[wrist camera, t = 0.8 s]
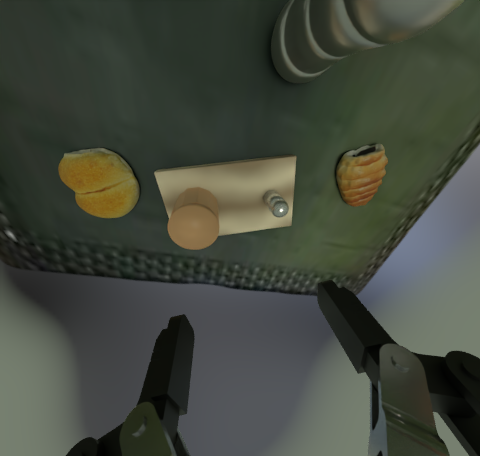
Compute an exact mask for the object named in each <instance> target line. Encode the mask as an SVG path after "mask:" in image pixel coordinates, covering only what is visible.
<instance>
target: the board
mask: <svg viewBox="0 0 480 456" xmlns="http://www.w3.org/2000/svg"><path fill="white" fill-rule="evenodd" d="M295 168H296V156H295V155H284V156H275V157H266V158H257V159H248V160H239V161H230V162H222V163H213V164H204V165H195V166H186V167H177V168H169V169H160V170H156V171H155V172H154V174H155V177H156V180H157V183H158V186H159V189H160V192H161V195H162V198H163V201H164V204H165V208H166V211H167V214H168V217H169V219H170V217H171V214H172V211H173V208H174V206H175V204H176V201H177V199H178V197H179V195H180V194H181V193H183V192H184V191H185V190H186V189H188V188H195V187H200V188H203V189H206V190H208V191H210V192H211V193H212V194H213V196H214V197H215V198H216V199H217V204H218V211H219V226H220V228H219V234H218V236H220V235H228V234H235V233H242V232H249V231H256V230H263V229H270V228H277V227H284V226H291V222H292V208H293V195H294V182H295ZM269 190H275V191H277V192H278V193H279V194H280V195H281V197H282V198H283V199H284V200H285V201H286V202H287V203H288V206H289V211H288V213H287V214H286V215H285V216H283V217H275V216H274V215H273V214H272V213H271V212H270V210H269V208H268V207H267V205H266V204H265V202H264V200H263V196H264V194H265V193H266V192H267V191H269Z"/></svg>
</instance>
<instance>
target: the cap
mask: <svg viewBox="0 0 480 456" xmlns="http://www.w3.org/2000/svg"><path fill="white" fill-rule="evenodd" d="M219 228H220V226H219V211H218V204H217V199H216V198H215V197H214V196H213V194H212V193H211V192H210V191H208V190H206V189H203V188H200V187H195V188H188V189H186V190H185V191H184V192H183V193H181V194H180V195H179V197H178V199H177V201H176V204H175V206H174V208H173V211H172V214H171V217H170V219H169V222H168V233H169V235H170V237H171V239H172V240H173V241H174V242H175V243H176V244H178V245H179V246H181V247H183V248H186V249H191V250H198V249H203V248H206V247H208V246H210V245H211V244H212V243H213V242H214V241H215V240H216V239H217V237H218V234H219Z"/></svg>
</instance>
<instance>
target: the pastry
mask: <svg viewBox="0 0 480 456" xmlns="http://www.w3.org/2000/svg"><path fill="white" fill-rule="evenodd" d="M384 153H385V150H384V147H383V145H381V144H375V145H371V146H369V145H367V146H363V147H361V148H359V149H357V150H356V151H354V150H352V151H349V152H346V153H345V154H344V155H343V156H342V158H341V160H340V162H339V164H338V166H337V169H336V173H337V175H336V179H337V183H338V187H339V190H340V193H341V196H342V198H343V200H344V201H345V202H346V203H347V204H349V205H351V206H360V205H366V203H367V202H368V201H370V200H371V198H372V197H373V195H374V194H375V193H376V192H377V188H378V186H379V185H381V184H382V178H383V176H384V175H385V174H386V171H385V169H384V167H385V165H386V164H387V163H388V159H387V157H386V156H385V154H384Z"/></svg>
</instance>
